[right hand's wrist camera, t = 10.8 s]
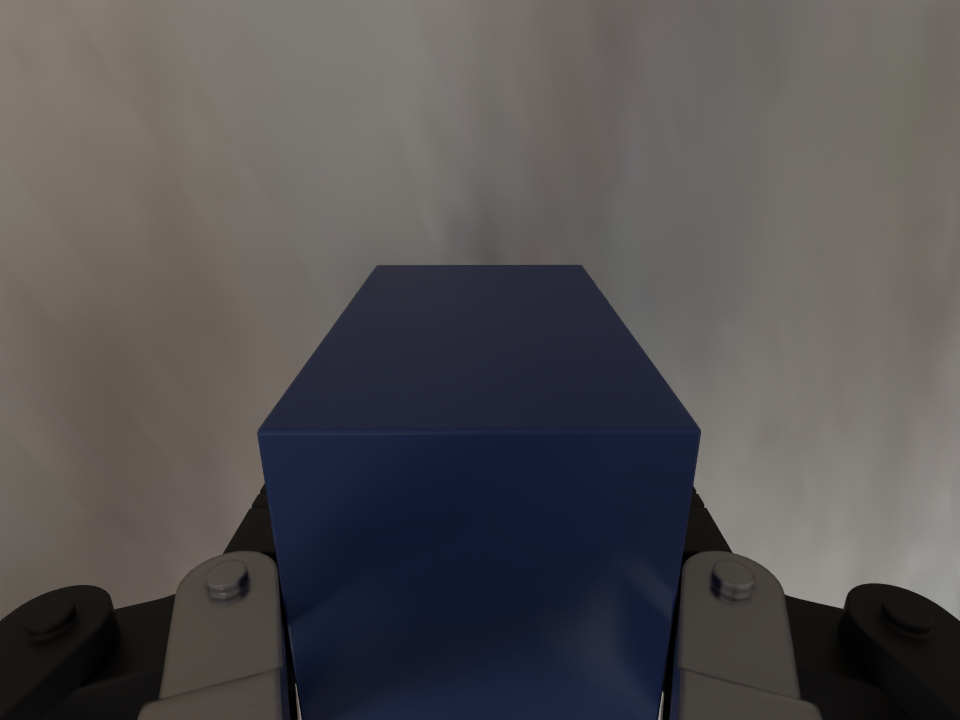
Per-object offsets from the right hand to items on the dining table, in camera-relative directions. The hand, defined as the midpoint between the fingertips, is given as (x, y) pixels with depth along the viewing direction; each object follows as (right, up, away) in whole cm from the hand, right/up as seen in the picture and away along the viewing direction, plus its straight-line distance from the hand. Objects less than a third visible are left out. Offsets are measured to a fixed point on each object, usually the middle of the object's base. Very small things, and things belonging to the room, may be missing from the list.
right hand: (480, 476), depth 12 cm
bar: (0, -6, +6) cm, 8 cm away
